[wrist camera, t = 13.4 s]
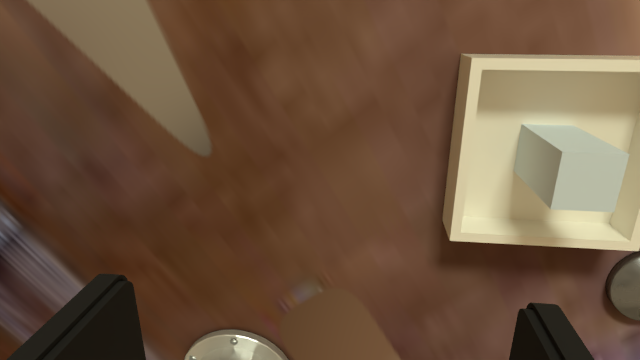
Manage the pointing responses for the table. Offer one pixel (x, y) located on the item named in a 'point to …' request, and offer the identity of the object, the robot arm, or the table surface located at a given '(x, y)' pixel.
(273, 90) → the table surface
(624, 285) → the grey round domed disc
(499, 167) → the dish
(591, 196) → the strut
